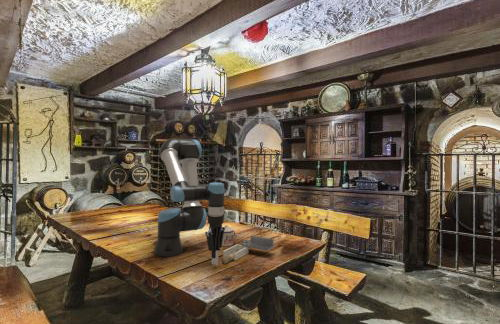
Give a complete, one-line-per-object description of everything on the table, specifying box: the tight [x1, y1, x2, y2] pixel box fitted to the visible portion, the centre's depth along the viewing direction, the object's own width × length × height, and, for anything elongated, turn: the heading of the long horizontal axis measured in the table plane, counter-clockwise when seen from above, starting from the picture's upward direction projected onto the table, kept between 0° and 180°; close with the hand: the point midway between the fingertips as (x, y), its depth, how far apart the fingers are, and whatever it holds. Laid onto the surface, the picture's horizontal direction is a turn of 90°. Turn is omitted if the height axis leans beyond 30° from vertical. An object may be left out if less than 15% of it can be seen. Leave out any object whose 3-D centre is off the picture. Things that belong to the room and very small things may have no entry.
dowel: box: [221, 252, 234, 265], centre depth 140 cm, size 9×3×3 cm
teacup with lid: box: [222, 224, 237, 247], centre depth 168 cm, size 12×9×12 cm
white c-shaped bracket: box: [222, 243, 250, 261], centre depth 150 cm, size 8×17×4 cm, turn 151°
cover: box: [241, 234, 275, 252], centre depth 153 cm, size 9×18×4 cm, turn 61°
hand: (214, 264), depth 132 cm, fingers closed
